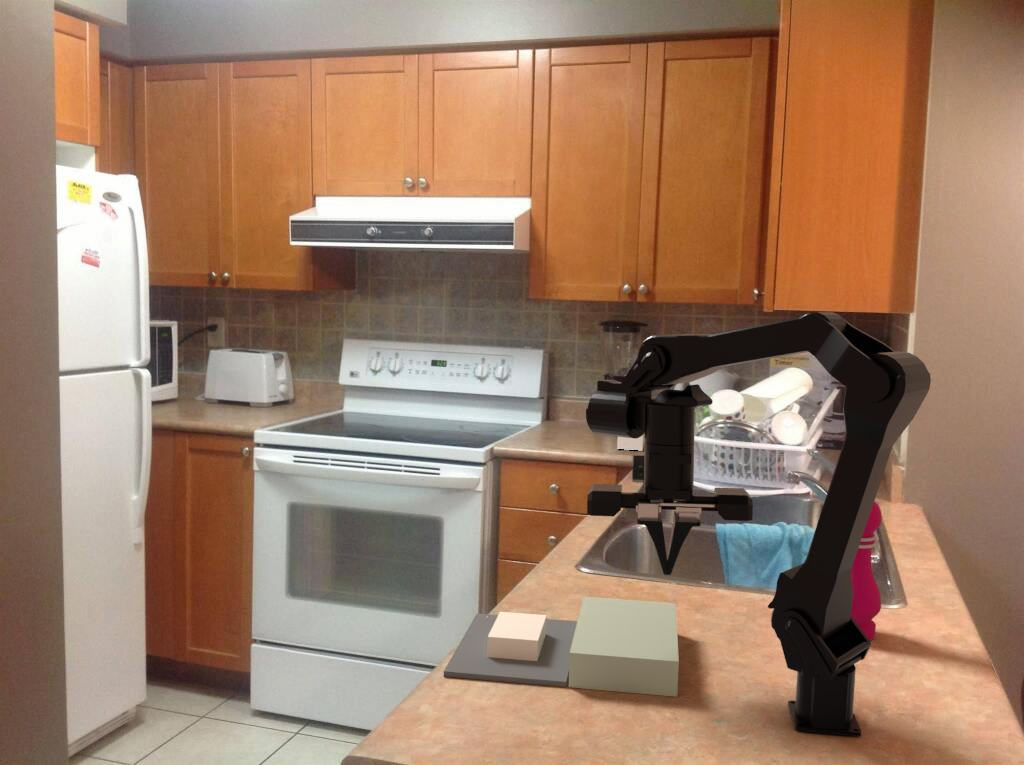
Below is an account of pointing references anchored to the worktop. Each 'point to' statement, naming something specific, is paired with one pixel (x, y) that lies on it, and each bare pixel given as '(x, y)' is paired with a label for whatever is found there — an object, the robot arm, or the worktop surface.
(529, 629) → the tilted white rectangular prism
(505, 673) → the mat
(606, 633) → the block
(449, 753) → the worktop surface
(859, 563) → the pepper mill
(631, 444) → the milk carton
